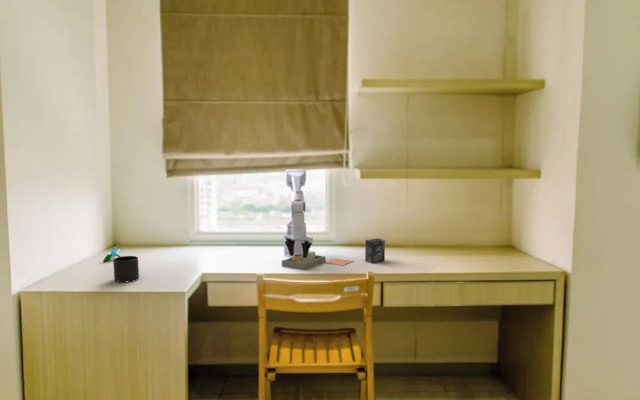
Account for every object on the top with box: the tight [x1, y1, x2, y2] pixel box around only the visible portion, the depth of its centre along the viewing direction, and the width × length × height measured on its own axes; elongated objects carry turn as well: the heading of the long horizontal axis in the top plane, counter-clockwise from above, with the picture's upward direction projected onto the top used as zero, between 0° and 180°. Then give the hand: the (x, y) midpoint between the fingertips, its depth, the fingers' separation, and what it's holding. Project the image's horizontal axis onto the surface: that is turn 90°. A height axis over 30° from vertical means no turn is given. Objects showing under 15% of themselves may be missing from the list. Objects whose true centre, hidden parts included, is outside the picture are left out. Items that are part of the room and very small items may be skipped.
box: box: [364, 238, 386, 264], centre depth 220 cm, size 8×6×11 cm
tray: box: [281, 254, 326, 271], centre depth 214 cm, size 13×18×3 cm
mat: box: [324, 257, 354, 267], centre depth 218 cm, size 10×10×1 cm
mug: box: [112, 255, 140, 283], centre depth 191 cm, size 9×12×9 cm
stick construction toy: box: [102, 245, 122, 262], centre depth 224 cm, size 12×7×8 cm
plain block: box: [304, 250, 316, 263], centre depth 218 cm, size 4×4×5 cm
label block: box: [292, 254, 305, 264], centre depth 210 cm, size 4×4×5 cm
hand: (298, 256), depth 210 cm, fingers open, 7 cm apart
